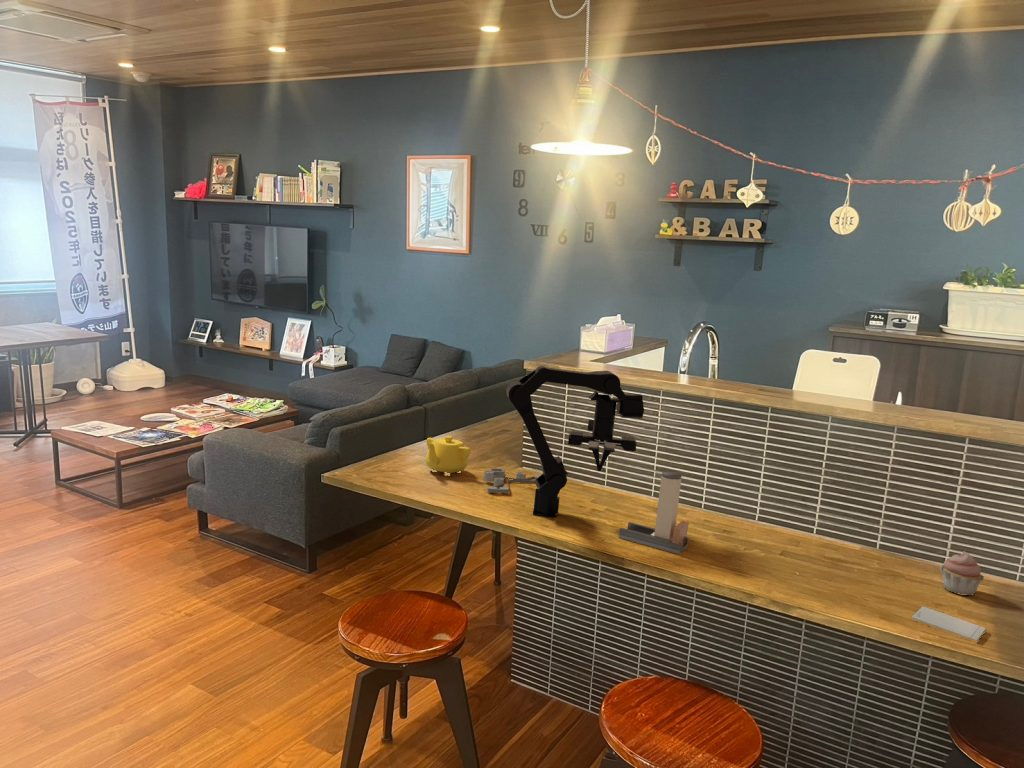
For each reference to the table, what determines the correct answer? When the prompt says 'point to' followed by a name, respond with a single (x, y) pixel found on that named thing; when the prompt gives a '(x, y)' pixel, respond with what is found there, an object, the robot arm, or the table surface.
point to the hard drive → (948, 623)
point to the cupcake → (961, 574)
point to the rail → (644, 537)
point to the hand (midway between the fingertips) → (599, 470)
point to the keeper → (667, 504)
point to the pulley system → (499, 477)
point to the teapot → (447, 455)
